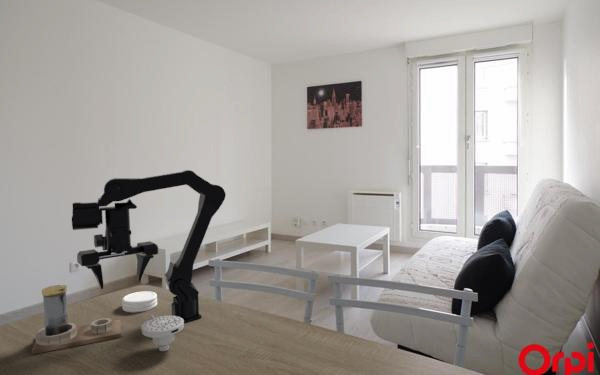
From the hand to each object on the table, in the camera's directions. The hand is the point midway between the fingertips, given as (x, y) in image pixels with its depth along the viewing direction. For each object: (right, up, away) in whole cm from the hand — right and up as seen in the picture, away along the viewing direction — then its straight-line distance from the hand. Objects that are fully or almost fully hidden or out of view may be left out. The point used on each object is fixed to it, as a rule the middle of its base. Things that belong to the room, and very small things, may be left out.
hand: (120, 285), depth 104 cm
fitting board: (-9, -12, -4) cm, 16 cm away
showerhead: (+15, -13, -10) cm, 22 cm away
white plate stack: (-2, -11, +17) cm, 21 cm away
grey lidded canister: (-13, -12, -6) cm, 19 cm away
